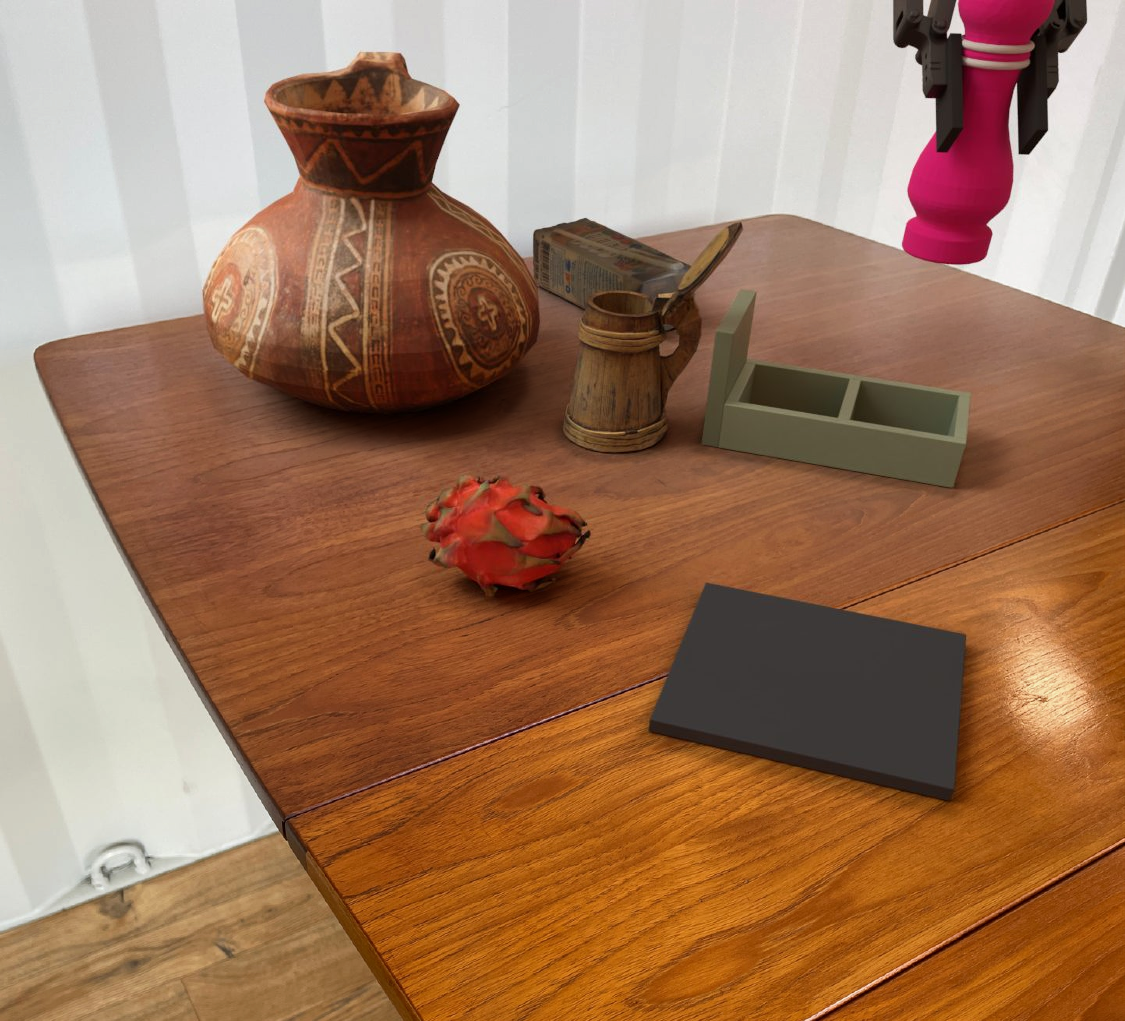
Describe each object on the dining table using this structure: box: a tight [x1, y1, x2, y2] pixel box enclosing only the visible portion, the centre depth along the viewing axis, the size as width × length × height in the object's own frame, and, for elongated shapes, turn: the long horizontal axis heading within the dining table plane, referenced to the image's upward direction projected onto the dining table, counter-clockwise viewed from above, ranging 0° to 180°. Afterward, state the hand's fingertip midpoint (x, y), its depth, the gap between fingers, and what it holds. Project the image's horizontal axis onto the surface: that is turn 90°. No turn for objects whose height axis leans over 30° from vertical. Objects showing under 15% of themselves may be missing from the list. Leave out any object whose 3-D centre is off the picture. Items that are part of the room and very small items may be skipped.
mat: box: [648, 582, 967, 802], centre depth 70 cm, size 18×16×1 cm
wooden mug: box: [562, 221, 744, 453], centre depth 90 cm, size 9×14×18 cm, turn 82°
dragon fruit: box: [419, 473, 591, 597], centre depth 76 cm, size 8×8×12 cm
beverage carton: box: [532, 217, 696, 332], centre depth 117 cm, size 8×19×7 cm, turn 37°
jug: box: [201, 51, 541, 415], centre depth 95 cm, size 30×30×25 cm
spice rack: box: [701, 288, 972, 489], centre depth 93 cm, size 22×10×10 cm, turn 72°
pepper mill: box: [901, 0, 1055, 266], centre depth 75 cm, size 7×7×20 cm
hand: (991, 141), depth 73 cm, fingers closed on pepper mill, 5 cm apart
